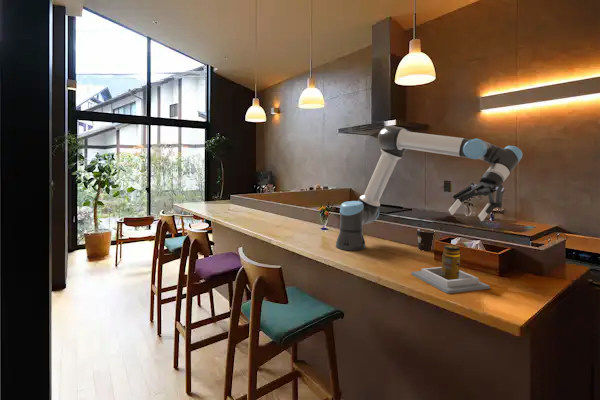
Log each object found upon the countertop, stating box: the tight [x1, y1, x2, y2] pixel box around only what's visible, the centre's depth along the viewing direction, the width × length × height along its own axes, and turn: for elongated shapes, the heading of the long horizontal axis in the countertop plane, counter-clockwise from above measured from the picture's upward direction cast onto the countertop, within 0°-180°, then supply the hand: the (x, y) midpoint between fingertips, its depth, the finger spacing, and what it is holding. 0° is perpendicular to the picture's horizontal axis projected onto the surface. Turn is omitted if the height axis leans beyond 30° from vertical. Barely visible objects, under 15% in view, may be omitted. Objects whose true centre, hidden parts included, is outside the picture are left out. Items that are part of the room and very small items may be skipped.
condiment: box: [439, 244, 462, 280], centre depth 123 cm, size 7×8×12 cm
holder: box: [410, 266, 491, 294], centre depth 123 cm, size 20×18×3 cm
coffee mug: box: [416, 228, 436, 252], centre depth 170 cm, size 12×9×10 cm
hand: (464, 215), depth 130 cm, fingers open, 13 cm apart
